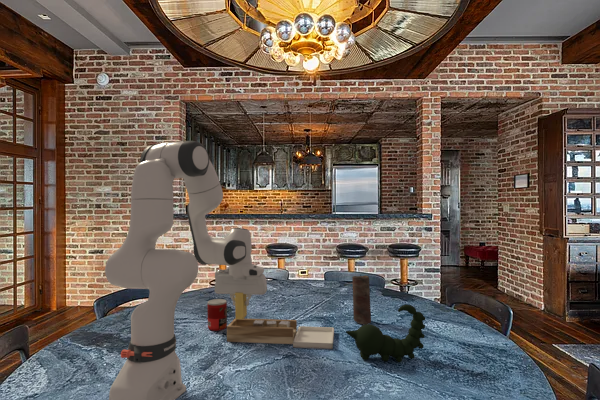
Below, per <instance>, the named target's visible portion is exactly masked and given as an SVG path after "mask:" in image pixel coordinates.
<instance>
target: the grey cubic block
mask: <svg viewBox="0 0 600 400" xmlns="http://www.w3.org/2000/svg"><path fill="white" fill-rule="evenodd" d="M253 326H260V327H264V321H263V320H255V321H254V323H253Z"/></svg>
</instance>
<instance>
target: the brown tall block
mask: <svg viewBox="0 0 600 400" xmlns="http://www.w3.org/2000/svg"><path fill="white" fill-rule="evenodd" d="M351 280H352V303H353V304H352V308H353V309H352V311H353V312H352V313H353V321H354V322H356V323H357V324H361V325H362V326H363V325H366V324H371V322H372V314H371V313H372V310H371V296H370V295H371V289H370V276H368V275H360V276H359V275H353V276H352V277H351Z"/></svg>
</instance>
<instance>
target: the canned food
mask: <svg viewBox="0 0 600 400" xmlns="http://www.w3.org/2000/svg"><path fill="white" fill-rule="evenodd" d="M227 304H228V302H227V300H226V299H223V298H214V299H213V298H212V299H210V300H208V301H207V307H206V308H207V329H208V330H210V331H213V332H214V331H215V332H217V331H223V330H225V329H227V326H228V313H227V312H228V305H227Z"/></svg>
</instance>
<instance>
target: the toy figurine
mask: <svg viewBox="0 0 600 400" xmlns="http://www.w3.org/2000/svg"><path fill="white" fill-rule="evenodd" d="M402 311H406V312H408V314H411V316H412V319H411V321H410V327H409V329H408V333H407V335H405V338H402V339H400V338H393V337H392V336H390V335H388V334H384V333H383V332H382V330H381V329H380V328H379V327H378V326H376V325H374V324H371V323H369V324H366V325H363V324H362V325H361V326H359V327H358V329H356V330H346V331H345V333H346V334H347V335H348V336H349V337H351V338H352V339H353V340H354V343H355V345H356V347H357V349H358V351H359V355H360V358H361V359H363V361H367V360H370V357H371V356H374V355H375V356H376V355H379V356H380V357H381V360H382V361H383V362H388V361H389V360H390V357H391V358H394V359H395V361H396V362H397V363H399V364H401V363H403V358H404V357H405V356H407V357H408V359H410V360H414V359H415V358H416V356H415V353H414V351H415V349H417V348H418V349H423V348H424V344H423V343H422V342H421V339H425V337H426V336H425V334H424V333H423V329H425V328H426V326H425V324H424V322H423V321H425V320H426V317H425V316H424V314H423V313H422V312H420V311H417V310H416V307H415V306H413V305H410V304H402V305H401V306H399V308H398V309H397V312H398V313H400V312H402Z"/></svg>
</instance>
